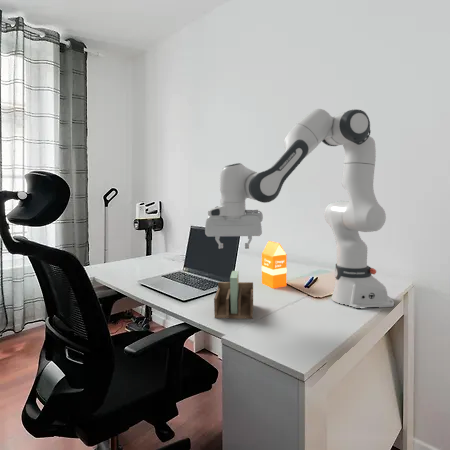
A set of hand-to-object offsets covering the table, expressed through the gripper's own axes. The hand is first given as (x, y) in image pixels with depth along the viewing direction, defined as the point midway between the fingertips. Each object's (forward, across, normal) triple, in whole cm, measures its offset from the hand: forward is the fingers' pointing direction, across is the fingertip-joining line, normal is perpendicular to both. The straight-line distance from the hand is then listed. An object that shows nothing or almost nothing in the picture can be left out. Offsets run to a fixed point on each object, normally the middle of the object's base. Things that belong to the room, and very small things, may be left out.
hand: (233, 248), depth 118 cm
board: (+23, 0, 0) cm, 23 cm away
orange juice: (+24, -16, -32) cm, 43 cm away
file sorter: (+24, 0, 0) cm, 24 cm away
